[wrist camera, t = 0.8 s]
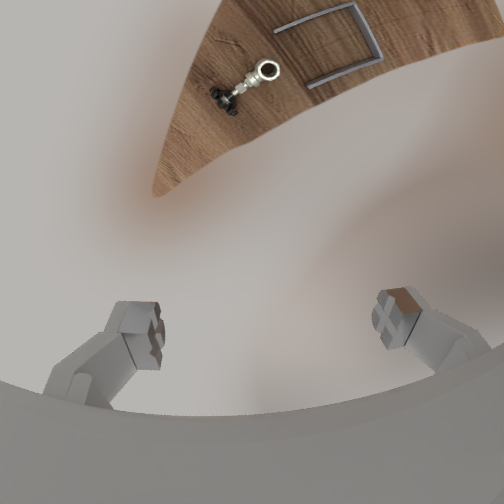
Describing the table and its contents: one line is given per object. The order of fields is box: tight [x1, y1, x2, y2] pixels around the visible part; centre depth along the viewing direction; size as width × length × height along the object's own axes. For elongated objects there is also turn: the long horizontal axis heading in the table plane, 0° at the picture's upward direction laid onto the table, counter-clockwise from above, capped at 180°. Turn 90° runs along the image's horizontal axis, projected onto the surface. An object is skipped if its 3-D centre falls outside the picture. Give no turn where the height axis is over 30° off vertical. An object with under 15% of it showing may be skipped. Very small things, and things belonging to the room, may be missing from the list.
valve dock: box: [273, 1, 385, 89], centre depth 35 cm, size 16×12×3 cm
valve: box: [209, 58, 281, 116], centre depth 39 cm, size 7×7×12 cm
